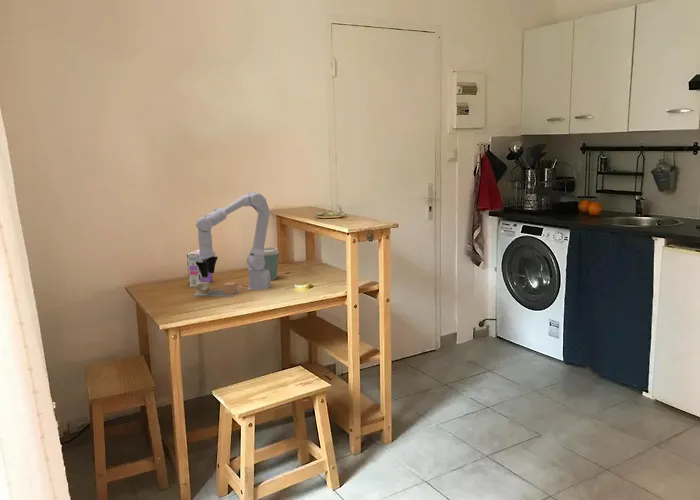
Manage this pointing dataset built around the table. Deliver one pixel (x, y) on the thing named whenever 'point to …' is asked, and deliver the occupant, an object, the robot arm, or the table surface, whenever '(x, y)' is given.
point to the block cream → (202, 288)
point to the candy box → (196, 270)
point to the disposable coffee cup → (271, 261)
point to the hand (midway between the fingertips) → (208, 274)
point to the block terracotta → (230, 288)
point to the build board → (216, 293)
